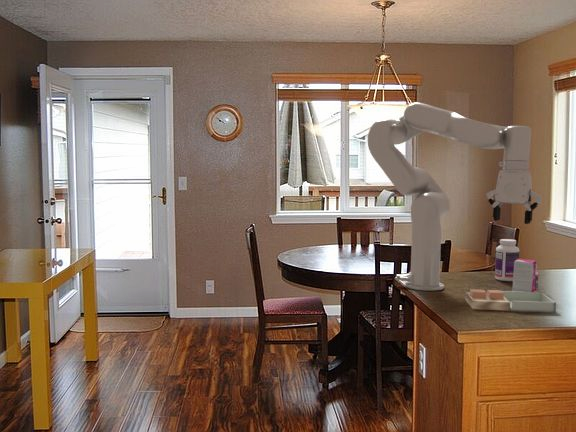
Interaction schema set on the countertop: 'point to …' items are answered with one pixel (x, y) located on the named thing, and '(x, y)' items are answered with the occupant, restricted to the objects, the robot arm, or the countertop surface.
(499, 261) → the pill bottle
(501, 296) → the tile
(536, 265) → the pill bottle
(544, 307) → the tray
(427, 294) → the countertop surface
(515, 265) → the supplement box
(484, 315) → the countertop surface
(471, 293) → the tile
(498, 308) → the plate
